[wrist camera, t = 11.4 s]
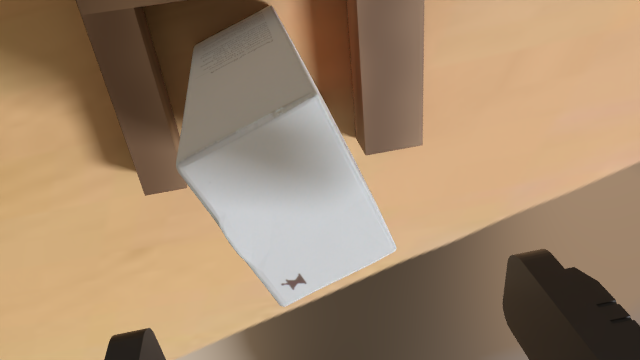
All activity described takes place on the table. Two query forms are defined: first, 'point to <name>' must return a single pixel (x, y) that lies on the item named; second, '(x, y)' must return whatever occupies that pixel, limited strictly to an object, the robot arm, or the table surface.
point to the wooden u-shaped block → (366, 66)
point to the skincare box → (275, 162)
